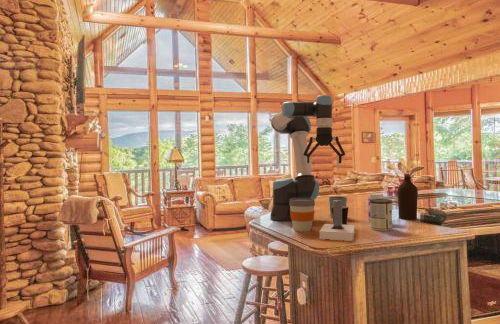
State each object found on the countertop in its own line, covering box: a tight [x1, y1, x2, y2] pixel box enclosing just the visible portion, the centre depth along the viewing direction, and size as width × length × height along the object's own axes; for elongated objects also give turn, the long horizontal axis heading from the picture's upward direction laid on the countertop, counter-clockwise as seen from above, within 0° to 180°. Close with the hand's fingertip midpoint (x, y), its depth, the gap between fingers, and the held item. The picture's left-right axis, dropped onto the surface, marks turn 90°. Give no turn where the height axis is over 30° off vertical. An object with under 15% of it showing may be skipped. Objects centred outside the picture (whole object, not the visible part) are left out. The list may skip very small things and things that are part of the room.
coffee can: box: [369, 198, 393, 232], centre depth 184 cm, size 10×10×14 cm
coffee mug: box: [331, 205, 349, 225], centre depth 193 cm, size 12×9×10 cm
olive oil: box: [396, 173, 419, 221], centre depth 212 cm, size 11×11×25 cm
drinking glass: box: [328, 196, 348, 219], centre depth 218 cm, size 10×10×12 cm
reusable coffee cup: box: [289, 198, 316, 232], centre depth 185 cm, size 12×13×15 cm
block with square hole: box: [319, 223, 356, 242], centre depth 170 cm, size 18×14×4 cm
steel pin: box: [332, 200, 342, 229], centre depth 170 cm, size 4×4×16 cm
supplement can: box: [367, 193, 385, 223], centre depth 203 cm, size 8×8×15 cm
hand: (324, 170), depth 186 cm, fingers open, 13 cm apart
